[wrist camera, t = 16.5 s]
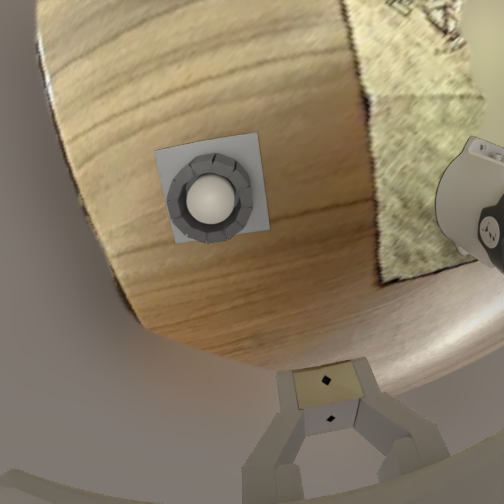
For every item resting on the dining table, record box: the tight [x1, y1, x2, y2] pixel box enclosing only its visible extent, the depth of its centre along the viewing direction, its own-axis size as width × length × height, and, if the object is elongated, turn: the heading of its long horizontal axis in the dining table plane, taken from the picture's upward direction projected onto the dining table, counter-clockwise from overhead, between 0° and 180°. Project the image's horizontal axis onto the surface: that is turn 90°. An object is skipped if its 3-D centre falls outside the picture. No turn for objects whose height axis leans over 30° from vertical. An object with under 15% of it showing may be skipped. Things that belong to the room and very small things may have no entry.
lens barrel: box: [154, 132, 270, 243], centre depth 34 cm, size 12×12×5 cm
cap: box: [186, 172, 235, 224], centre depth 34 cm, size 5×5×4 cm
